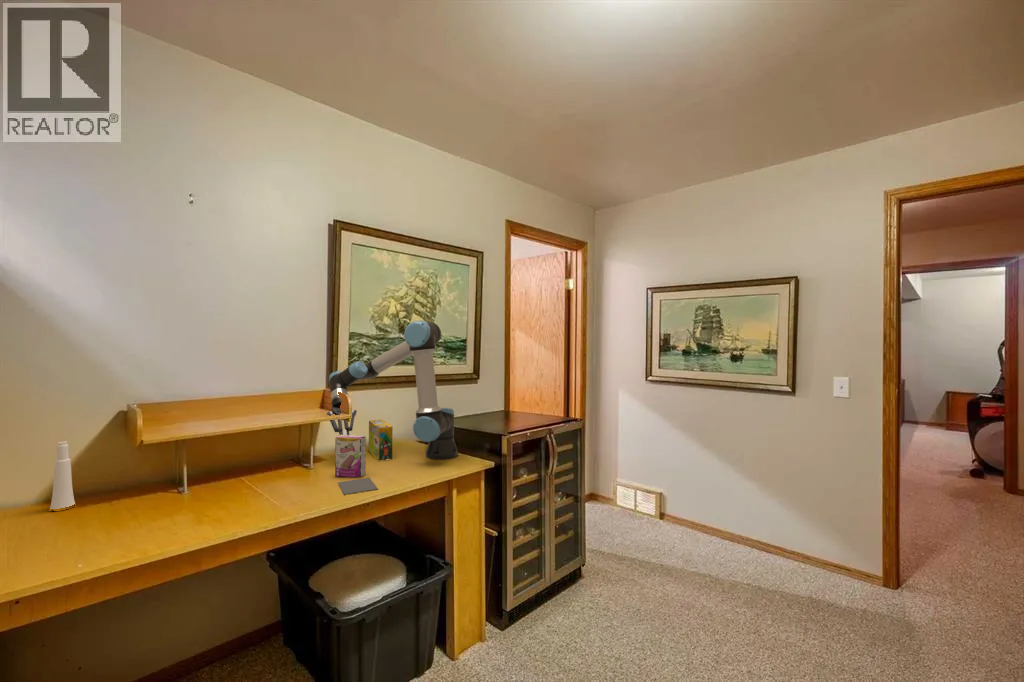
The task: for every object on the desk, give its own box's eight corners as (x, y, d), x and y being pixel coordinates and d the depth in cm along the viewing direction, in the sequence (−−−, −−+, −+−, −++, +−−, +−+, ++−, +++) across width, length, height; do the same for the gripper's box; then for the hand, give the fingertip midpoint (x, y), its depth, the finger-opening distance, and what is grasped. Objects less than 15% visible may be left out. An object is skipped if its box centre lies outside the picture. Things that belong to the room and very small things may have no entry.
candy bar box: (334, 477, 181) (334, 437, 181) (340, 473, 186) (340, 434, 186) (360, 478, 180) (361, 437, 180) (366, 474, 185) (366, 435, 185)
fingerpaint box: (393, 459, 208) (393, 425, 208) (378, 461, 205) (378, 427, 204) (382, 450, 224) (382, 419, 224) (368, 452, 221) (368, 420, 221)
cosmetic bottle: (78, 507, 148) (78, 441, 148) (53, 513, 143) (52, 445, 142) (71, 503, 151) (71, 439, 151) (46, 509, 146) (46, 442, 146)
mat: (369, 478, 179) (369, 477, 179) (378, 489, 166) (378, 488, 166) (337, 483, 173) (337, 482, 173) (344, 495, 160) (344, 494, 160)
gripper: (353, 404, 212) (360, 447, 197) (324, 406, 205) (328, 450, 191) (355, 394, 207) (362, 437, 193) (325, 396, 201) (330, 440, 186)
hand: (345, 444), depth 192 cm, fingers closed
